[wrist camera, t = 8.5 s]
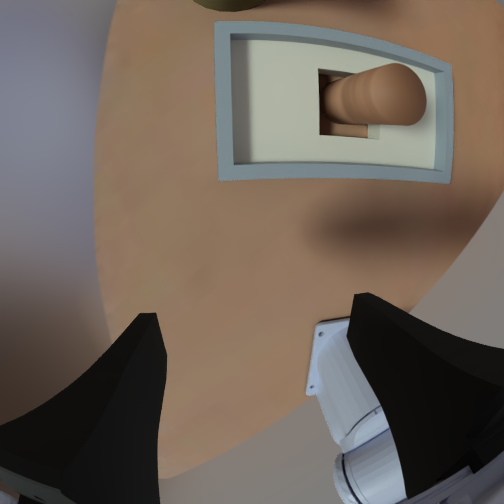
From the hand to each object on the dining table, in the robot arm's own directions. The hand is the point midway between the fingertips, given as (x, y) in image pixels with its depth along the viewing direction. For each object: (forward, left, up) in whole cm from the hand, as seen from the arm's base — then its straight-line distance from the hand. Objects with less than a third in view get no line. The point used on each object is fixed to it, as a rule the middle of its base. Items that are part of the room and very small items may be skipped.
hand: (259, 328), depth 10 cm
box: (+9, -7, -10) cm, 15 cm away
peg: (+9, -7, -10) cm, 15 cm away
